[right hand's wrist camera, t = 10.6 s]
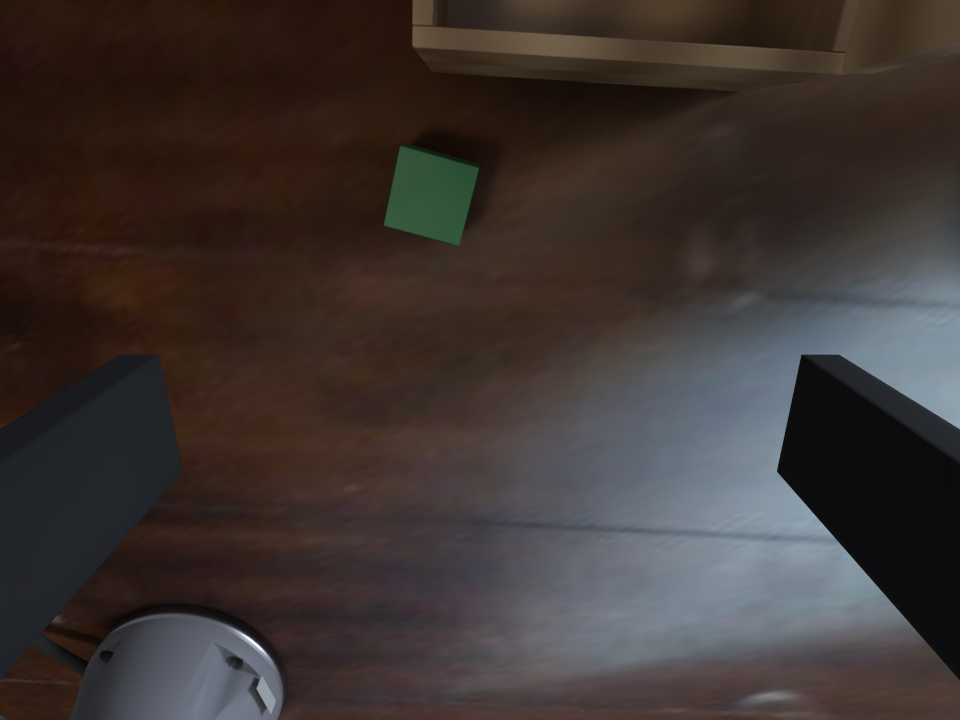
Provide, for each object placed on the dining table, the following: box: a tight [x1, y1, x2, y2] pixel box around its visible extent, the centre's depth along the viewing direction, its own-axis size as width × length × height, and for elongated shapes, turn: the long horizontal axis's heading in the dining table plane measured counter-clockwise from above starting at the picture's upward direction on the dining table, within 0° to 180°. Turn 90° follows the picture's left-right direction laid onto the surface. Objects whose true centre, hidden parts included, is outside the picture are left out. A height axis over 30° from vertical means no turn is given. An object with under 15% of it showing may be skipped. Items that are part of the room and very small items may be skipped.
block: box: [384, 144, 479, 246], centre depth 33 cm, size 4×4×4 cm
